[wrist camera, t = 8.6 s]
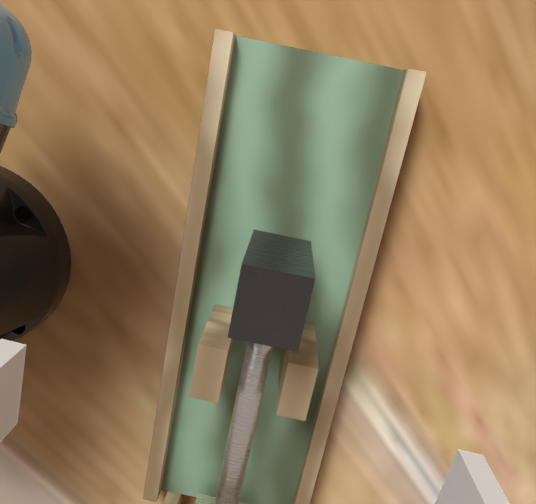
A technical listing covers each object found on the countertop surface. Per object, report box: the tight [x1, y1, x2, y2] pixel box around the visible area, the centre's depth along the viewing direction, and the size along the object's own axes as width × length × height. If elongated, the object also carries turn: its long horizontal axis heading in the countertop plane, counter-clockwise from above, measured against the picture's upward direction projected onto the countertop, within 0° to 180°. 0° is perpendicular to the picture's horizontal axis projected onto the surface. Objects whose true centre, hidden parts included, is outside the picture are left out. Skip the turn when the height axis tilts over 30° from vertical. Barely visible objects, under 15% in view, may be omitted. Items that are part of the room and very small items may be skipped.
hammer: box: [195, 229, 315, 504], centre depth 35 cm, size 26×5×10 cm, turn 169°
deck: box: [143, 29, 426, 504], centre depth 37 cm, size 14×46×9 cm, turn 169°
